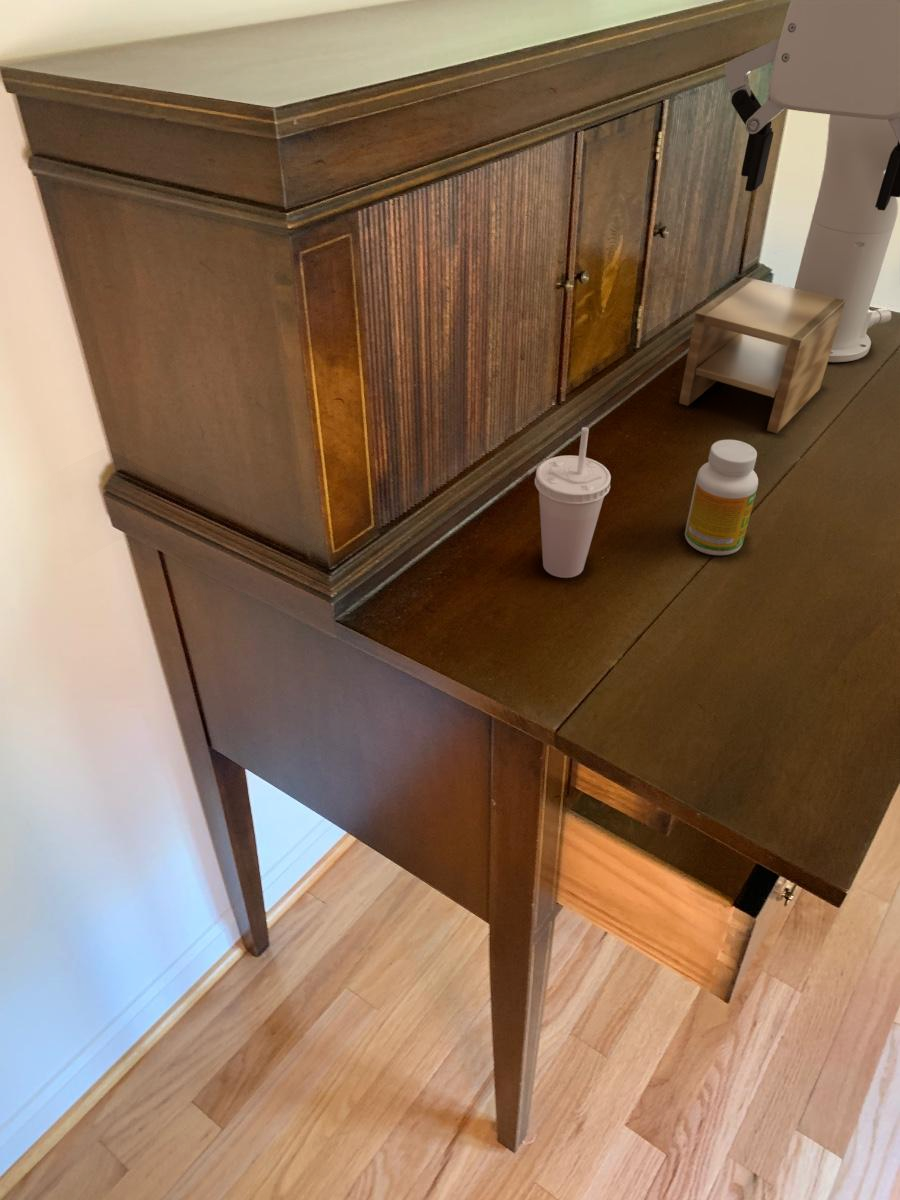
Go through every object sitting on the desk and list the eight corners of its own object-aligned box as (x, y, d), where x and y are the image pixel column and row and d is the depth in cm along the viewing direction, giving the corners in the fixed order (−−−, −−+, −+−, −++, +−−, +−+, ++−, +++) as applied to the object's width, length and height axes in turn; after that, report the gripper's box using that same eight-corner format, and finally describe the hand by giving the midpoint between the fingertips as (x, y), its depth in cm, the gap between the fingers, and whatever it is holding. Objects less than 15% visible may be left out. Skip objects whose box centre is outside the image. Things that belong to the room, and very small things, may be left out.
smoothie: (595, 591, 80) (615, 451, 72) (523, 581, 81) (534, 443, 73) (601, 549, 85) (620, 413, 76) (532, 540, 86) (544, 405, 77)
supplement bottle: (744, 560, 84) (768, 469, 78) (684, 553, 85) (704, 462, 79) (740, 527, 88) (763, 438, 82) (683, 521, 89) (701, 432, 83)
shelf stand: (727, 362, 117) (745, 276, 110) (819, 389, 111) (845, 300, 104) (678, 403, 108) (695, 312, 101) (776, 433, 103) (801, 340, 96)
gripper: (1033, -77, 60) (941, 201, 70) (765, -86, 66) (717, 170, 76) (1031, -73, 54) (931, 226, 65) (740, -84, 60) (692, 191, 71)
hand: (816, 196), depth 71 cm, fingers open, 9 cm apart
